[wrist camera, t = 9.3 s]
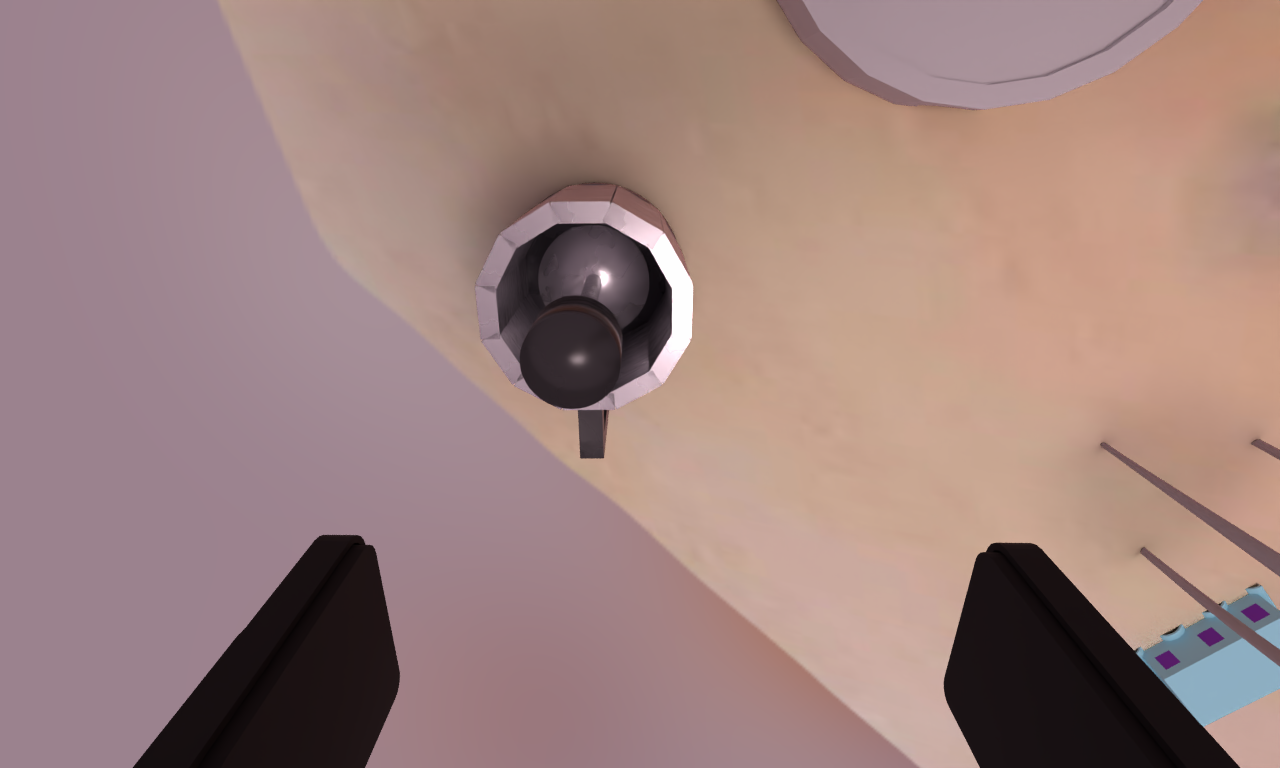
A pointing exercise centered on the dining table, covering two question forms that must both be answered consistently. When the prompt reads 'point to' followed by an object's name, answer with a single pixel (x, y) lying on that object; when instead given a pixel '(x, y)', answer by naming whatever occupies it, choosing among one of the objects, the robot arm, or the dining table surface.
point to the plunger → (583, 315)
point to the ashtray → (979, 45)
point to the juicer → (1231, 532)
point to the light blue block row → (1219, 659)
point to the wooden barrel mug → (517, 302)
